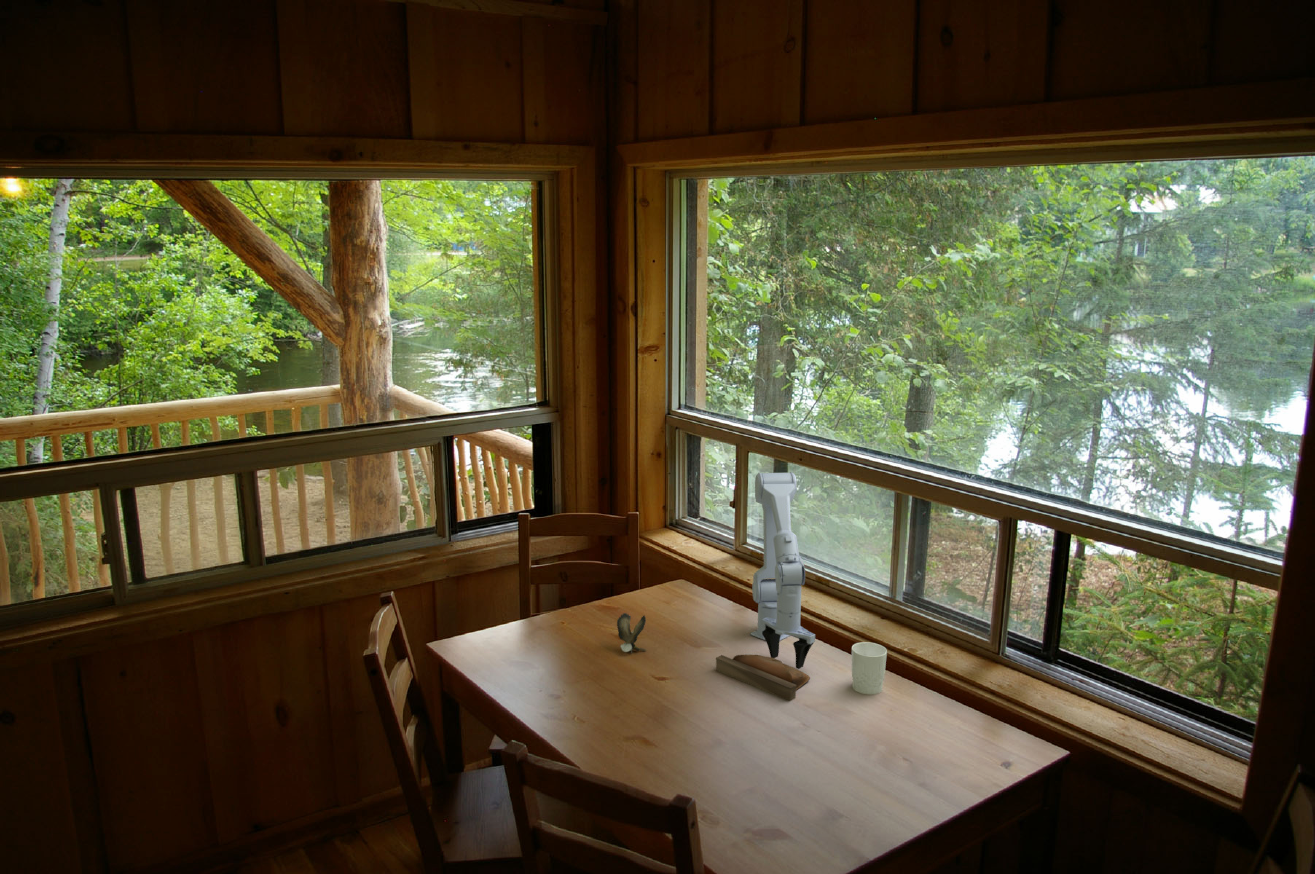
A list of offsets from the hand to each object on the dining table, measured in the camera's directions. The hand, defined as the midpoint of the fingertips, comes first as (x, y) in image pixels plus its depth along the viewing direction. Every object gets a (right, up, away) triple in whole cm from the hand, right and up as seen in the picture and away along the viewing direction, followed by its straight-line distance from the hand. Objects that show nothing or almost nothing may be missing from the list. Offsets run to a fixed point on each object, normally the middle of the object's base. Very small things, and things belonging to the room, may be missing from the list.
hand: (786, 662), depth 216 cm
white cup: (+17, -4, -11) cm, 20 cm away
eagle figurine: (-38, 0, +10) cm, 39 cm away
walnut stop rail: (-9, -3, -9) cm, 13 cm away
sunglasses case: (-3, -3, -3) cm, 5 cm away
